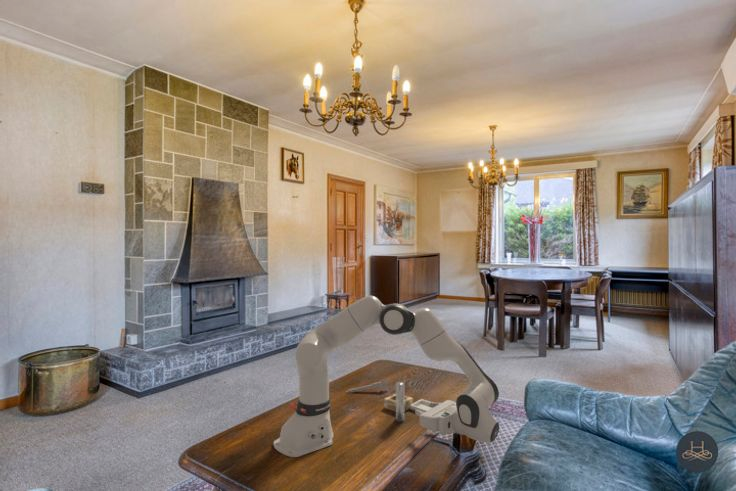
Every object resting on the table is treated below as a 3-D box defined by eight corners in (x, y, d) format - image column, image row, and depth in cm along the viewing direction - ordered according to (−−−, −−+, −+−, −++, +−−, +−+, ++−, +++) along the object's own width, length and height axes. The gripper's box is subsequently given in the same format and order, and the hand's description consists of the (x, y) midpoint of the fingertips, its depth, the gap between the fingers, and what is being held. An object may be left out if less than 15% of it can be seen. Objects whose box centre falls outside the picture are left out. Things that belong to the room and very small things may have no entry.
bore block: (400, 413, 167) (400, 404, 167) (384, 407, 173) (384, 398, 173) (412, 407, 174) (412, 398, 174) (397, 401, 180) (397, 392, 180)
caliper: (387, 391, 194) (387, 378, 194) (387, 391, 192) (387, 379, 192) (345, 392, 192) (345, 379, 192) (345, 393, 191) (345, 380, 191)
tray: (426, 415, 165) (426, 410, 165) (409, 409, 171) (409, 404, 171) (438, 409, 172) (438, 404, 172) (421, 403, 178) (421, 398, 178)
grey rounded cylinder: (400, 422, 159) (400, 385, 159) (394, 419, 162) (394, 383, 161) (406, 419, 162) (406, 383, 162) (399, 416, 164) (399, 381, 164)
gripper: (468, 401, 152) (438, 392, 161) (439, 419, 137) (408, 407, 146) (468, 417, 152) (438, 407, 161) (439, 437, 137) (408, 424, 146)
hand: (423, 407), depth 153 cm, fingers open, 8 cm apart
